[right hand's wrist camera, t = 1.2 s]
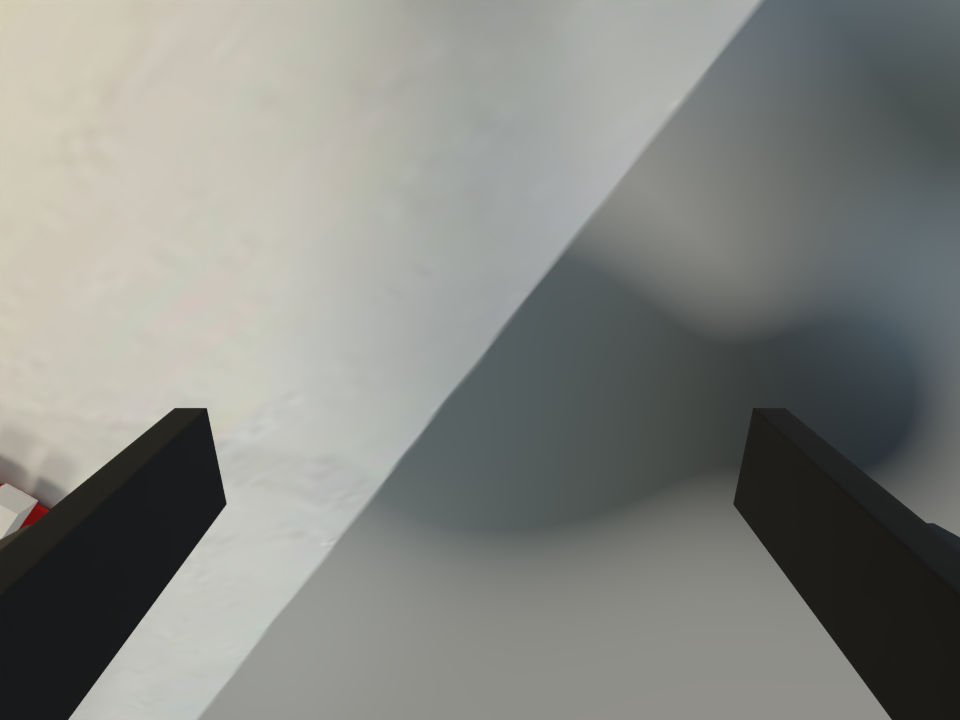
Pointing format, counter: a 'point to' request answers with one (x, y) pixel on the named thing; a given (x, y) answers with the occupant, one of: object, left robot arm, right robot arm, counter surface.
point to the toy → (17, 510)
